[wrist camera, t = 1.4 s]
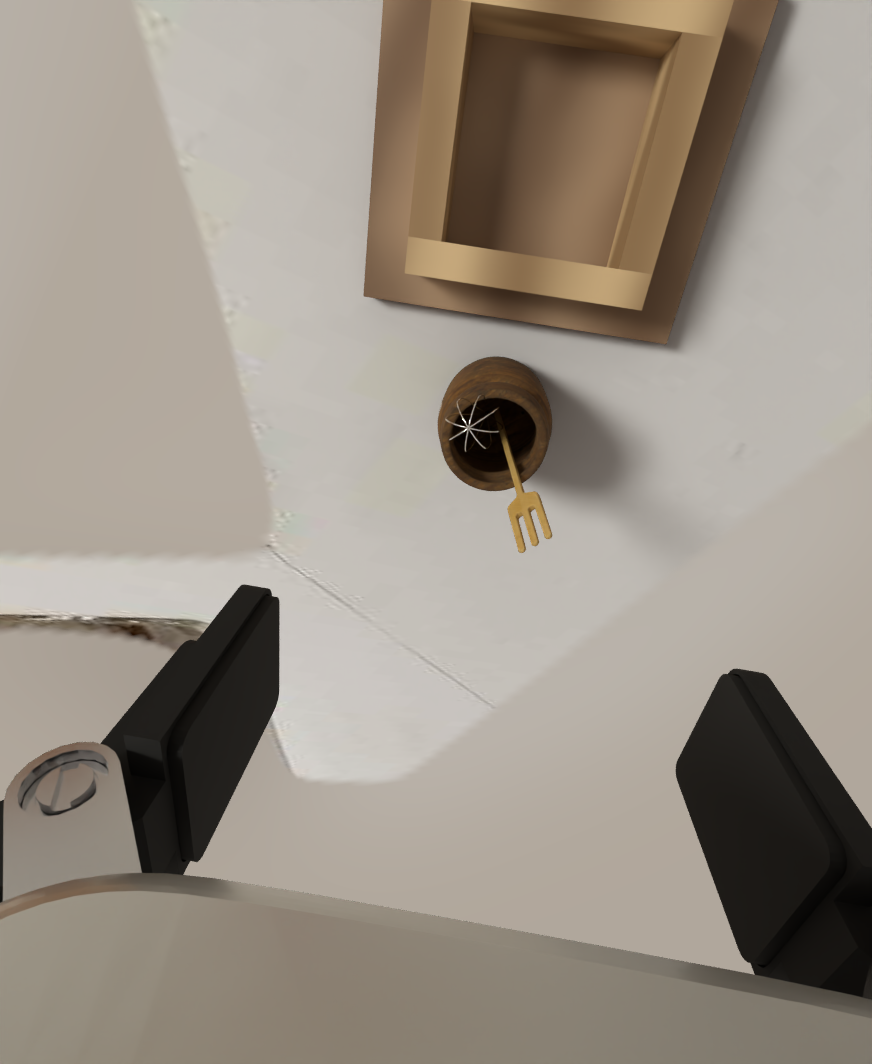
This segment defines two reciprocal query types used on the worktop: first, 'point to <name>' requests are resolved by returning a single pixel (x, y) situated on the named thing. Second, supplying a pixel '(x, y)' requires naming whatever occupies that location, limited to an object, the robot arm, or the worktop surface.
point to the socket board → (554, 154)
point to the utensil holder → (498, 434)
